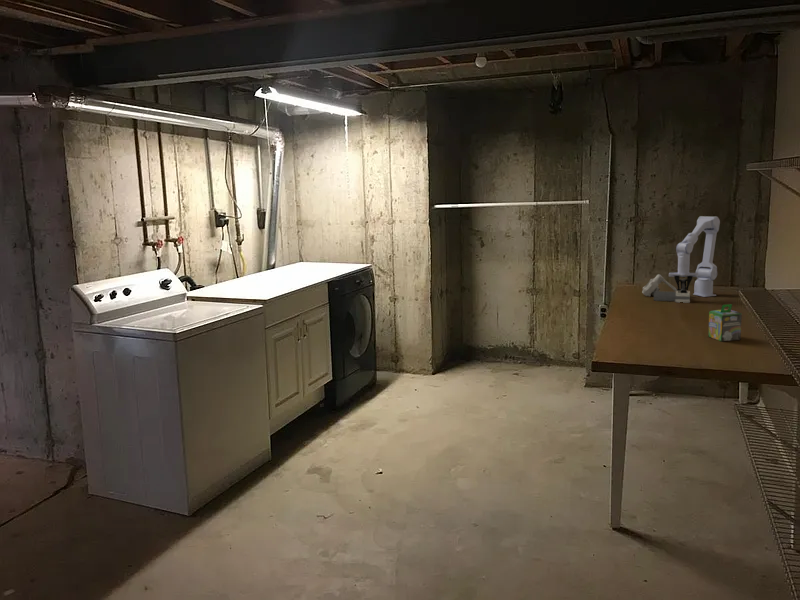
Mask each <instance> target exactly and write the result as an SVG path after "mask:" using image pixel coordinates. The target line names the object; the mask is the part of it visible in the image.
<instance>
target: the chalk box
mask: <svg viewBox="0 0 800 600" xmlns="http://www.w3.org/2000/svg"><path fill="white" fill-rule="evenodd" d="M727 307H728V308H727ZM732 307H733V303H728V304H727V303H726V304H722V305H721V309H715V310H710V311H708V338H712V339H713V340H716V341H719V342H732V341H733V342H734V341H740V340H741V335H742V317H743V313H742V312H739V311H735V310H732Z"/></svg>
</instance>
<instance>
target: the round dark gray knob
mask: <svg viewBox="0 0 800 600" xmlns="http://www.w3.org/2000/svg"><path fill="white" fill-rule="evenodd" d="M679 284H680V289H681V293H687V291H688V290H687V278H679Z"/></svg>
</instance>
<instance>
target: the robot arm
mask: <svg viewBox="0 0 800 600" xmlns="http://www.w3.org/2000/svg"><path fill="white" fill-rule="evenodd" d="M720 224H721V220H720V218H719V216H709V215H708V216H706V215H704V216H703V215H699V217H698V218H697V220H696V226H695V227H694V229H693V230H692V232H688V233H687V235H686V236H685V237H684V239H682V241H680V242H679V243H677V244H676V248H675V250H676V255H677V272H669V273H668V277H673V278H674V281H675V282H676V285H677V286H676V287H677V289H678V290H679V289H680V281H679V280H680V277H681V278H682V277H686V279H687V281H686V290H687V291H689V287H690V283H691V282H692V280H693V278H696V280H695V282H694V288H693V290H694V291H693V292H694V293H692V295H694V296H697V297H698V296H699V297H703V298H707V297H715V296H717V294H714V293H713V292H714V280H715V279H716V278H718V277H717V276H718V267H717V265H716V264H715V263H714V262H713V261H714V255H715V247H716V242H717V241H716V240H717V236H718V235H717V233H718V232H719V231H720V226H721V225H720ZM702 232H704V233H705V240H704V246H703V255H702V261H701V262H700V263H698V264H697V266H696V270H695V272H690V267H691V266H690V265H691V264H690V262H691V261H690V259H691V253H692V252H693V249H694V245H695V244H696V243H697V241H698V240H699V236H700V234H701V233H702Z"/></svg>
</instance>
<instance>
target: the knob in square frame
mask: <svg viewBox="0 0 800 600" xmlns="http://www.w3.org/2000/svg"><path fill="white" fill-rule="evenodd" d="M653 301H655V302H662V301H663V302H674V303H680V302H683V303H684V304H685V303H686V304H687V303H688V304H690V302H691V291H690V290H687V293H681V291H676V292H675V291H663V290H662V291H661V290H659V291H654V296H653Z"/></svg>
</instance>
